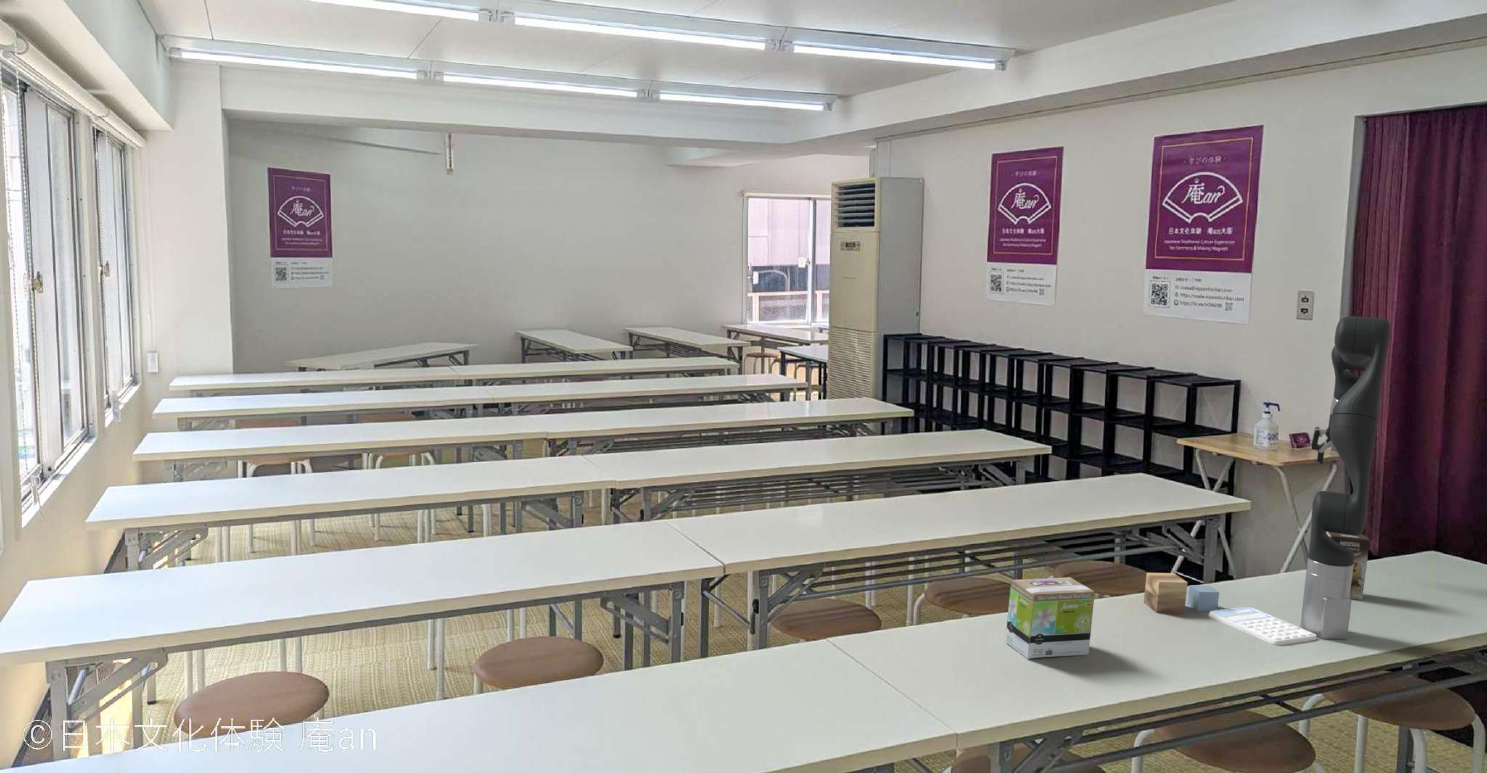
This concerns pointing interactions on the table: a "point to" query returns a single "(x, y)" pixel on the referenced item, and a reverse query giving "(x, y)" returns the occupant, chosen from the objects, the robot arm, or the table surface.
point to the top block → (1166, 585)
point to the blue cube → (1203, 598)
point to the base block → (1164, 603)
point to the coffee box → (1355, 559)
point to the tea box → (1049, 617)
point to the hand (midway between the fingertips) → (1338, 464)
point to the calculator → (1262, 625)
